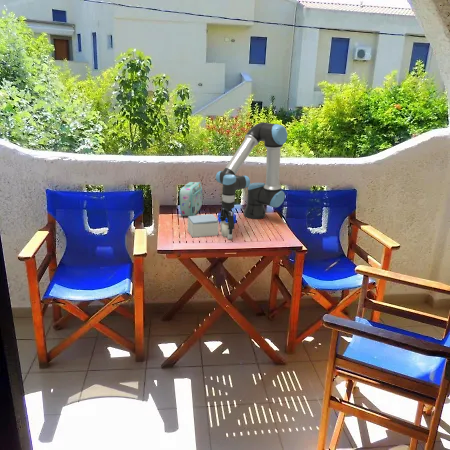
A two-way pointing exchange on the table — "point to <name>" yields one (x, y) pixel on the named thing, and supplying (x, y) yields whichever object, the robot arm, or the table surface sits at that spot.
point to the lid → (203, 219)
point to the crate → (203, 229)
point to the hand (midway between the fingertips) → (226, 234)
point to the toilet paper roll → (225, 229)
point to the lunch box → (190, 198)
